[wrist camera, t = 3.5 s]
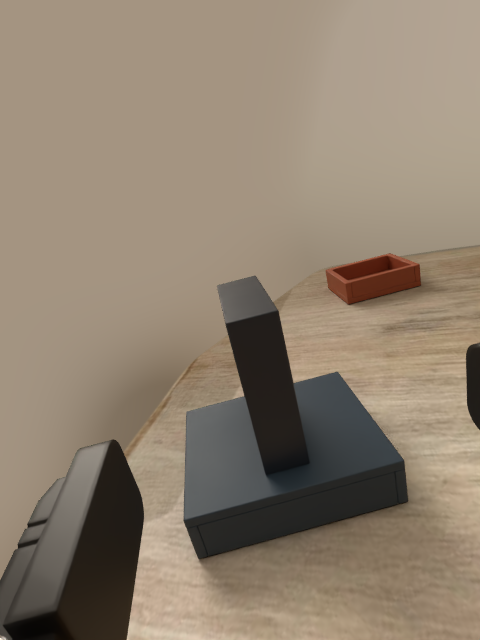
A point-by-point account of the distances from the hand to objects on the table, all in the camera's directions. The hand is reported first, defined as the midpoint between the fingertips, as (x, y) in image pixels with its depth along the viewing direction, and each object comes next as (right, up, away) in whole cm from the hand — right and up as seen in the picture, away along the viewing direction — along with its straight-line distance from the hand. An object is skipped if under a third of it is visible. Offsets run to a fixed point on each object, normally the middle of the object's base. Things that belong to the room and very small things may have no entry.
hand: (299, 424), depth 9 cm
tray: (+14, +6, +36) cm, 39 cm away
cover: (+1, -6, +13) cm, 15 cm away
